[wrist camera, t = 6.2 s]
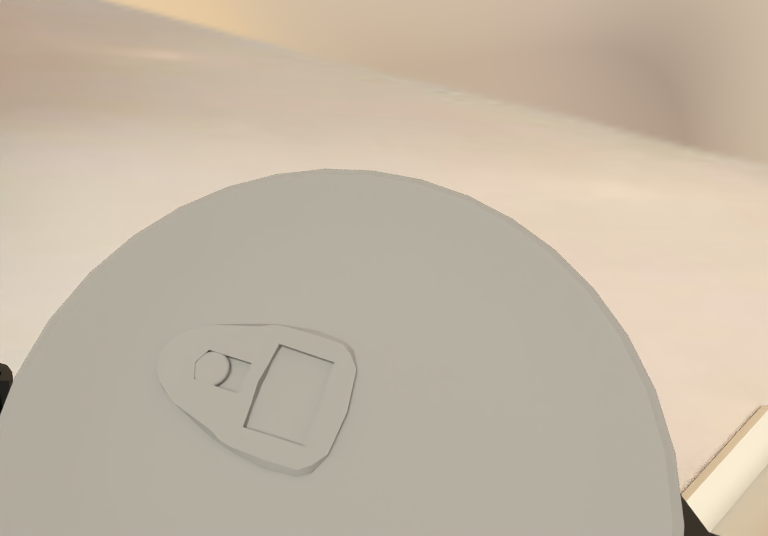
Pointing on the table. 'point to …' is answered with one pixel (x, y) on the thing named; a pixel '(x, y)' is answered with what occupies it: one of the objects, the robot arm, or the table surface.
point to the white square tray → (735, 484)
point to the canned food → (335, 379)
